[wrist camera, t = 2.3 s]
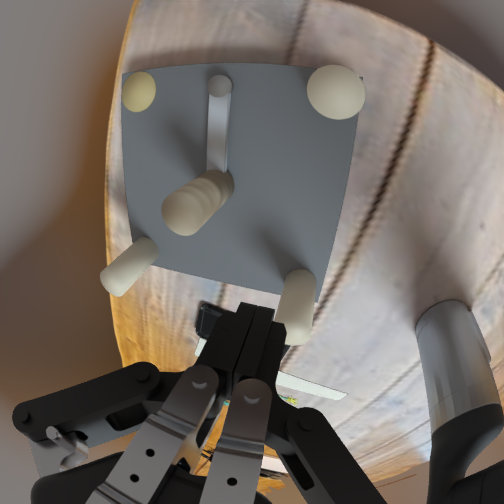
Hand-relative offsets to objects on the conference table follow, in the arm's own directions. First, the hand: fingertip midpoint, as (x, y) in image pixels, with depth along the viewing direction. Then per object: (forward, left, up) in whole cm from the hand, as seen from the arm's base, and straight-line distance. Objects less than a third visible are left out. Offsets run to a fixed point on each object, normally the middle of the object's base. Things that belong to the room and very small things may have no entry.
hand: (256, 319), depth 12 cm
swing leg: (+8, -5, -17) cm, 19 cm away
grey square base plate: (+8, 0, -20) cm, 21 cm away
